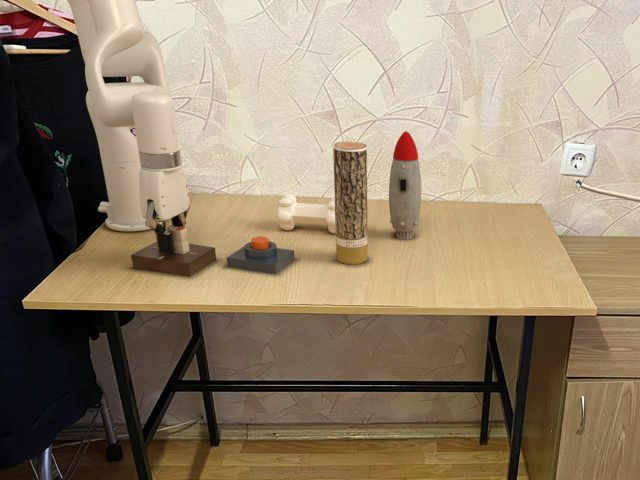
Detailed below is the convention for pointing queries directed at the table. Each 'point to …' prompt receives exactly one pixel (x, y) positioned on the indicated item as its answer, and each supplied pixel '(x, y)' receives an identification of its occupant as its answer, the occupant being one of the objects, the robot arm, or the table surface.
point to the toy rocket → (405, 187)
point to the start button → (260, 243)
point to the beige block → (178, 239)
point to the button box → (261, 258)
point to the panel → (174, 260)
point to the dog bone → (305, 213)
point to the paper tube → (350, 201)
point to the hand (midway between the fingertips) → (173, 247)
